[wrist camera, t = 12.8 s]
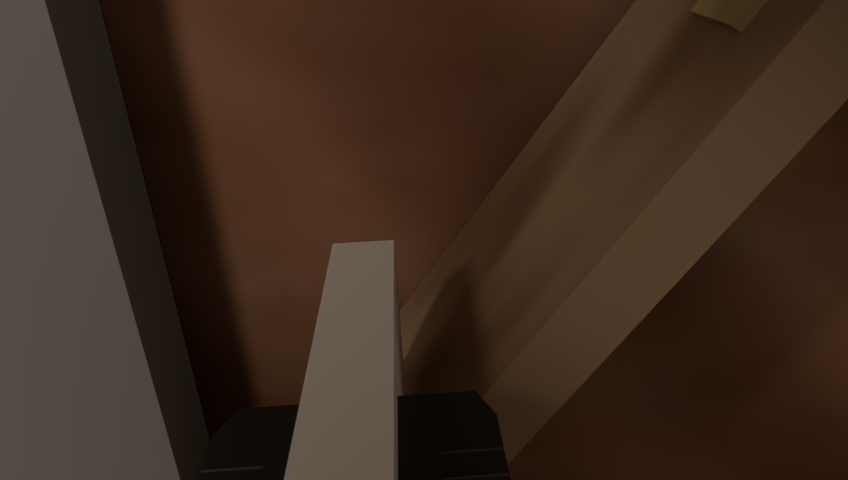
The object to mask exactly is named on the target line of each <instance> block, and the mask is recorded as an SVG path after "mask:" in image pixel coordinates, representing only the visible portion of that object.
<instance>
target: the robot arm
mask: <svg viewBox="0 0 848 480" xmlns="http://www.w3.org/2000/svg"><path fill="white" fill-rule="evenodd" d="M196 480H511V478H510V477H509V469H508V464H507V460H506V455H505V451H504V448H503V441H502V436H501V432H500V427H499V422H498V418H497V414H496V413H495V412H494V411H493V410H492V409H491V408H490V407H489V405H488V404H487V403H486V402H485V401H484V400H483V399H482V398H481V396H480V395H479V394H478V393H477V392H476V391H462V392H447V393H433V394H418V395H405V376H404V363H403V350H402V338H401V325H400V312H399V299H398V287H397V274H396V261H395V248H394V240H386V241H367V242H351V243H335V244H333V245H332V250H331V254H330V259H329V264H328V269H327V274H326V279H325V283H324V288H323V293H322V298H321V303H320V307H319V312H318V317H317V322H316V327H315V332H314V336H313V341H312V346H311V351H310V356H309V360H308V365H307V370H306V375H305V380H304V385H303V389H302V394H301V399H300V404H299V405H287V406H271V407H256V408H241V409H237V410H236V411H235V412H234V413H233V414H232V415H231V416H230V417H229V419H228V420H227V421H226V422H225V423H224V424H223V425H222V426H221V427H220V428H219V429H218V430H217V431H216V432H215V433H214V434H213V435H212V437H211V440H210V442H209V445H208V448H207V450H206V453H205V456H204V459H203V461H202V464H201V467H200V474H198V475H197V478H196Z"/></svg>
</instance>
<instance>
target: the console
mask: <svg viewBox="0 0 848 480" xmlns="http://www.w3.org/2000/svg"><path fill="white" fill-rule="evenodd" d="M209 442H210V438H209V434H208V430H207V426H206V422H205V418H204V414H203V410H202V406H201V402H200V399H199V395H198V391H197V387H196V383H195V379H194V375H193V371H192V367H191V363H190V359H189V355H188V351H187V347H186V343H185V339H184V335H183V331H182V327H181V323H180V319H179V315H178V312H177V308H176V304H175V300H174V296H173V292H172V288H171V284H170V280H169V276H168V272H167V268H166V264H165V260H164V256H163V252H162V248H161V244H160V240H159V236H158V232H157V229H156V225H155V221H154V217H153V213H152V209H151V205H150V201H149V197H148V193H147V189H146V185H145V181H144V177H143V173H142V169H141V165H140V161H139V157H138V153H137V149H136V146H135V142H134V138H133V134H132V130H131V126H130V122H129V118H128V114H127V110H126V106H125V102H124V98H123V94H122V90H121V86H120V82H119V78H118V74H117V70H116V66H115V63H114V59H113V55H112V51H111V47H110V43H109V39H108V35H107V31H106V27H105V23H104V19H103V15H102V11H101V7H100V3H99V0H0V480H196V478H197V475H198V474H200V467H201V464H202V461H203V459H204V456H205V453H206V450H207V448H208V445H209Z"/></svg>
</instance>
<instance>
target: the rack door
mask: <svg viewBox="0 0 848 480" xmlns="http://www.w3.org/2000/svg"><path fill="white" fill-rule="evenodd" d="M847 99H848V0H636V1H635V2H634V3H633V4H632V6H631V7H630V8H629V10H628V11H627V12H626V14H625V15H624V16H623V18H622V19H621V20H620V22H619V23H618V24H617V26H616V27H615V28H614V29H613V31H612V32H611V33H610V35H609V36H608V37H607V39H606V40H605V41H604V43H603V44H602V45H601V47H600V48H599V49H598V51H597V52H596V53H595V54H594V56H593V57H592V58H591V60H590V61H589V62H588V64H587V65H586V66H585V68H584V69H583V70H582V72H581V73H580V74H579V76H578V77H577V78H576V79H575V81H574V82H573V83H572V85H571V86H570V87H569V89H568V90H567V91H566V93H565V94H564V95H563V97H562V98H561V99H560V101H559V102H558V103H557V104H556V106H555V107H554V108H553V110H552V111H551V112H550V114H549V115H548V116H547V118H546V119H545V120H544V122H543V123H542V124H541V125H540V127H539V128H538V129H537V131H536V132H535V133H534V135H533V136H532V137H531V139H530V140H529V141H528V143H527V144H526V145H525V147H524V148H523V149H522V150H521V152H520V153H519V154H518V156H517V157H516V158H515V160H514V161H513V162H512V164H511V165H510V166H509V168H508V169H507V170H506V172H505V173H504V174H503V175H502V177H501V178H500V179H499V181H498V182H497V183H496V185H495V186H494V187H493V189H492V190H491V191H490V193H489V194H488V195H487V197H486V198H485V199H484V200H483V202H482V203H481V204H480V206H479V207H478V208H477V210H476V211H475V212H474V214H473V215H472V216H471V218H470V219H469V220H468V221H467V223H466V224H465V225H464V227H463V228H462V229H461V231H460V232H459V233H458V235H457V236H456V237H455V239H454V240H453V241H452V243H451V244H450V245H449V246H448V248H447V249H446V250H445V252H444V253H443V254H442V256H441V257H440V258H439V260H438V261H437V262H436V264H435V265H434V266H433V268H432V269H431V270H430V271H429V273H428V274H427V275H426V277H425V278H424V279H423V281H422V282H421V283H420V285H419V286H418V287H417V289H416V290H415V291H414V293H413V294H412V295H411V296H410V298H409V299H408V300H407V302H406V303H405V304H404V306H403V307H402V308H401V310H400V311H399V312H400V325H401V338H402V350H403V363H404V376H405V395H418V394H433V393H447V392H462V391H476V392H477V393H478V394H479V395H480V396H481V398H482V399H483V400H484V401H485V402H486V403H487V404H488V405H489V407H490V408H491V409H492V410H493V411H494V412H495V413H496V414H497V418H498V422H499V427H500V432H501V436H502V441H503V448H504V451H505V455H506V460H507V464H509V463H510V461H511V460H512V459H513V458H514V457H515V456H516V455H517V454H518V453H519V452H520V451H521V450H522V449H523V448H524V446H525V445H526V444H527V443H528V442H529V441H530V440H531V439H532V438H533V437H534V436H535V435H536V434H537V432H538V431H539V430H540V429H541V428H542V427H543V426H544V425H545V424H546V423H547V422H548V421H549V420H550V419H551V417H552V416H553V415H554V414H555V413H556V412H557V411H558V410H559V409H560V408H561V407H562V406H563V405H564V403H565V402H566V401H567V400H568V399H569V398H570V397H571V396H572V395H573V394H574V393H575V392H576V391H577V389H578V388H579V387H580V386H581V385H582V384H583V383H584V382H585V381H586V380H587V379H588V378H589V377H590V376H591V374H592V373H593V372H594V371H595V370H596V369H597V368H598V367H599V366H600V365H601V364H602V363H603V362H604V360H605V359H606V358H607V357H608V356H609V355H610V354H611V353H612V352H613V351H614V350H615V349H616V348H617V347H618V345H619V344H620V343H621V342H622V341H623V340H624V339H625V338H626V337H627V336H628V335H629V334H630V333H631V331H632V330H633V329H634V328H635V327H636V326H637V325H638V324H639V323H640V322H641V321H642V320H643V319H644V318H645V316H646V315H647V314H648V313H649V312H650V311H651V310H652V309H653V308H654V307H655V306H656V305H657V304H658V302H659V301H660V300H661V299H662V298H663V297H664V296H665V295H666V294H667V293H668V292H669V291H670V290H671V289H672V287H673V286H674V285H675V284H676V283H677V282H678V281H679V280H680V279H681V278H682V277H683V276H684V275H685V273H686V272H687V271H688V270H689V269H690V268H691V267H692V266H693V265H694V264H695V263H696V262H697V261H698V260H699V258H700V257H701V256H702V255H703V254H704V253H705V252H706V251H707V250H708V249H709V248H710V247H711V246H712V244H713V243H714V242H715V241H716V240H717V239H718V238H719V237H720V236H721V235H722V234H723V233H724V232H725V231H726V229H727V228H728V227H729V226H730V225H731V224H732V223H733V222H734V221H735V220H736V219H737V218H738V217H739V215H740V214H741V213H742V212H743V211H744V210H745V209H746V208H747V207H748V206H749V205H750V204H751V203H752V202H753V200H754V199H755V198H756V197H757V196H758V195H759V194H760V193H761V192H762V191H763V190H764V189H765V188H766V186H767V185H768V184H769V183H770V182H771V181H772V180H773V179H774V178H775V177H776V176H777V175H778V174H779V173H780V171H781V170H782V169H783V168H784V167H785V166H786V165H787V164H788V163H789V162H790V161H791V160H792V159H793V157H794V156H795V155H796V154H797V153H798V152H799V151H800V150H801V149H802V148H803V147H804V146H805V145H806V144H807V142H808V141H809V140H810V139H811V138H812V137H813V136H814V135H815V134H816V133H817V132H818V131H819V130H820V128H821V127H822V126H823V125H824V124H825V123H826V122H827V121H828V120H829V119H830V118H831V117H832V116H833V115H834V113H835V112H836V111H837V110H838V109H839V108H840V107H841V106H842V105H843V104H844V103H845V102H846V101H847Z"/></svg>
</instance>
